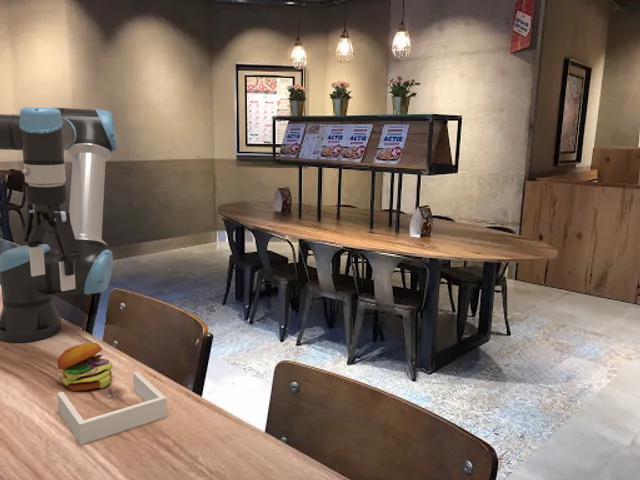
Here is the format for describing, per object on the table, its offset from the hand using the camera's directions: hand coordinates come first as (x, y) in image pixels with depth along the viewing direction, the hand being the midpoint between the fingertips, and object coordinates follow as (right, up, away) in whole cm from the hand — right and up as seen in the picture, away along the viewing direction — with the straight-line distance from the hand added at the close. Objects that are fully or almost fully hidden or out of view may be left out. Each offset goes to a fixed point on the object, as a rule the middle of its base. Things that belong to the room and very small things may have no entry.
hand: (52, 282), depth 115 cm
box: (+17, -25, -10) cm, 32 cm away
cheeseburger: (+6, -22, +2) cm, 23 cm away
